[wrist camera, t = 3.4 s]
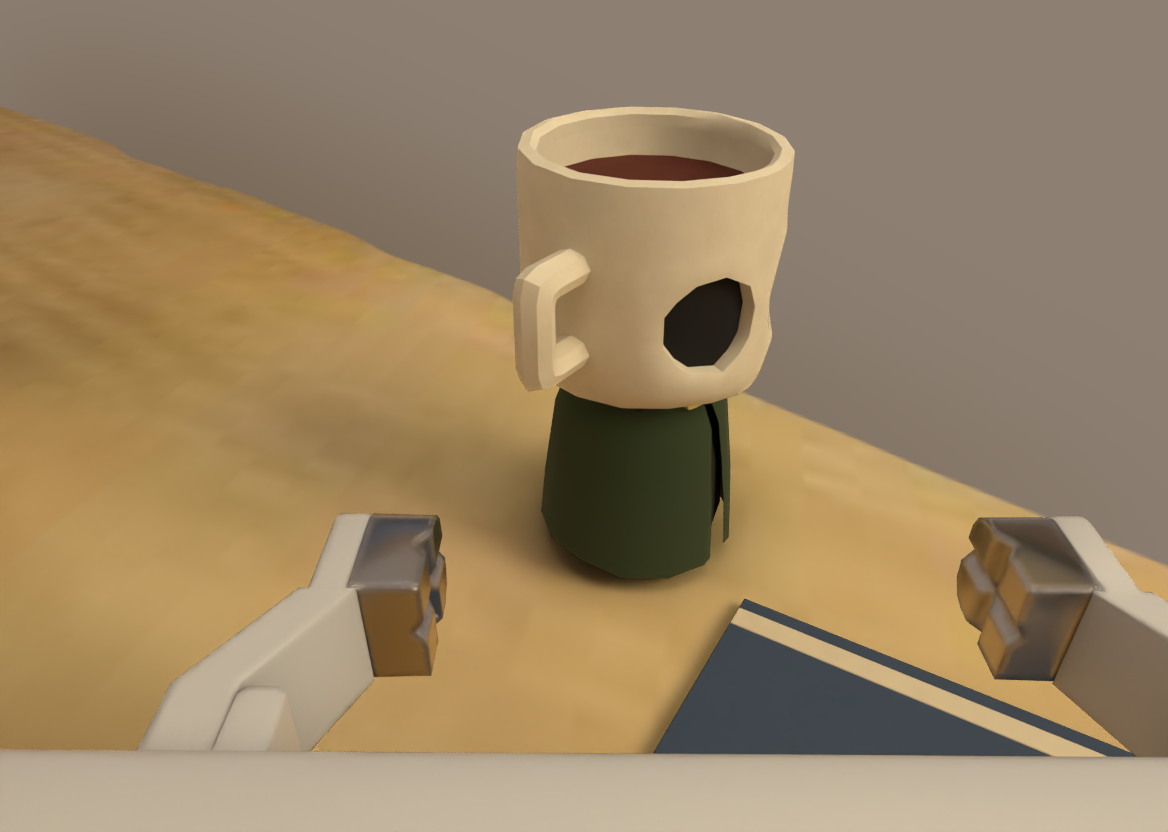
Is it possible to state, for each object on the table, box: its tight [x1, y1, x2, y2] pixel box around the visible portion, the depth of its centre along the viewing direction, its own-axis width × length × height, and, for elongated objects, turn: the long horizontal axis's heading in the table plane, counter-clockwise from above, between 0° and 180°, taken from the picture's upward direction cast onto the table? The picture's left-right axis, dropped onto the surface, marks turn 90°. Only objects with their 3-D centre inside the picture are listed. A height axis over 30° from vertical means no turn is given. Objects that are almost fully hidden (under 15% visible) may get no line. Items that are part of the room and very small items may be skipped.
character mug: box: [513, 107, 795, 578], centre depth 26 cm, size 11×7×13 cm, turn 143°
